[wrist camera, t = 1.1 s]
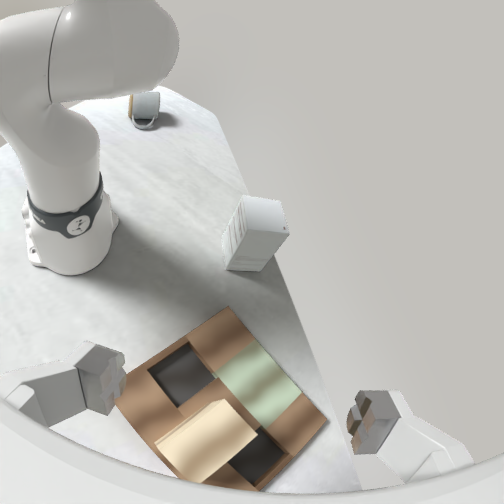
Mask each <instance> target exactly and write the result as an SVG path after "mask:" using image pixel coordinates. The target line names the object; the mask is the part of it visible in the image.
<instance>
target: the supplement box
mask: <svg viewBox="0 0 504 504" xmlns="http://www.w3.org/2000/svg"><path fill="white" fill-rule="evenodd" d="M288 236H289V231H288V227H287V222H286V219H285V215H284V211H283V208H282V204H281V201H278V200H271V199H265V198H259V197H252V196H246V195H242V197H241V199H240V201H239V203H238V205H237V207H236V209H235V212H234V214H233V216H232V218H231V220H230V222H229V224H228V225H227V228H226V230H225V232H224V234H223V236H222V246H223V255H224V264H225V270H238V271H258V272H260V271H261V270H262V269H263V268H264V266H265V265H266V264H267V263H268V261H269V260H270V259H271V257H272V256H273V255H274V253H275V252H276V251H277V250H278V249H279V247H280V246H281V245H282V243H283V242H284V241H285V240H286V238H287V237H288Z"/></svg>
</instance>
